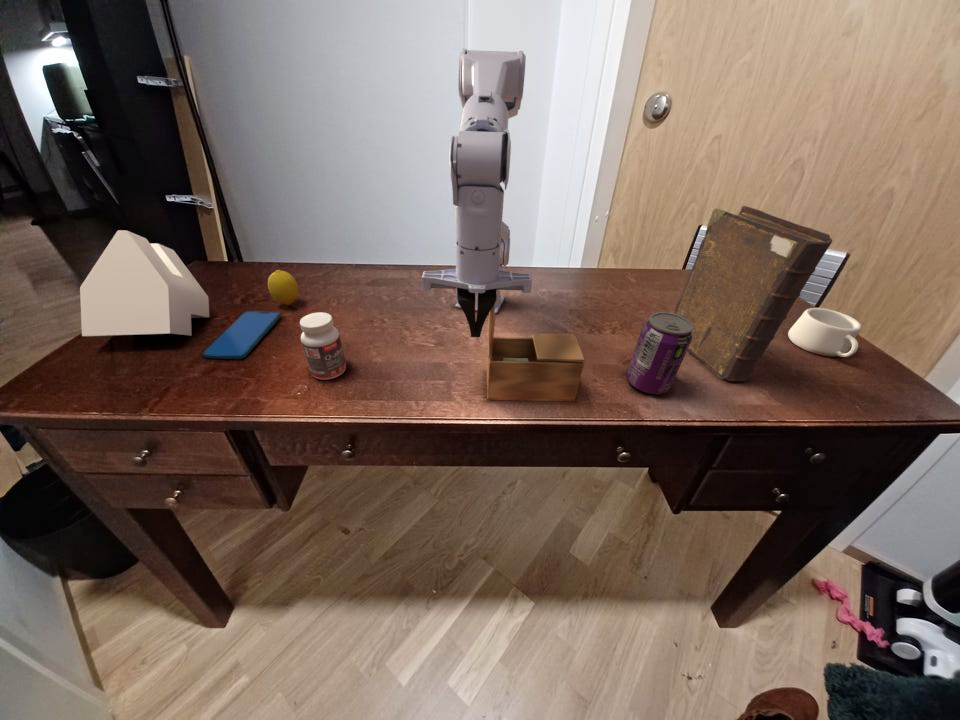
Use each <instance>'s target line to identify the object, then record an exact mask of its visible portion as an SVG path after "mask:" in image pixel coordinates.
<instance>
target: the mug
mask: <svg viewBox="0 0 960 720" xmlns="http://www.w3.org/2000/svg"><path fill="white" fill-rule="evenodd" d="M861 330H862V324H861V323H860V322H859V321H858V320H857V319H855V318H854V317H852V316H850V315H848V314H845V313H843V312H841V311H837V310H834V309H829V308H823V307H810V308H807V309H805V310H804V311H803V312H802V314H801V315H800V317H798V319H797V320H796V321H795V323H793V325H792V326H791V327H790V328H789V330H788V333H787V335H788V339H789V340H790V342H792V343H793V344H794V345H796V346H797V347H799V348H801V349H802V350H805V351H807V352H809V353H812V354H816V355H819V356H825V357H831V358H832V357H835V358H836V357H841V358H849V357H851V356H853V355H855V354H857V351H858V349H859V342H858V340H857V339H856V338H857V337H858V335H859V333H860V331H861Z"/></svg>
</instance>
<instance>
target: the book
mask: <svg viewBox="0 0 960 720" xmlns="http://www.w3.org/2000/svg"><path fill="white" fill-rule="evenodd" d="M832 243H833V239H832V238H831V236H830V234H829V233H825V232H823V231H819V230H816V229H814V228H811V227H808V226H804V225H801V224H797V223H794V222H792V221H789V220H786V219H783V218H780V217H778V216H774V215H772V214H769V213H767V212H764V211H763V210H760V209H758V208H755V207H752V206H747V205H742V206H741V209H740V210H739V212H738V214H735V213H732V212H729V211H727V210H725V209H722V208H720V207H715V208H713V210H712V211H711V214H710V218H709V220H708V223H707V226H706V229H705V235H704V237H703V239H702V240H701V243H700V245H699V248H698V251H697V255H696V257H695V259H694V262H693V265H692V267H691V269H690V273H689V274H688V278H687V280H686V282H685V285H684V288H683V290H682V292H681V296H680V298H679V299H678V301H677V303H676V306H675V309H674V313H673V314H677V315H679V316H682V317H684V318H686V319H687V320H689V321H690V322H691V323H692V324H693V330H692V332H691V333H692V341H691V343H690V345H689V347H688V350H687V352H689V354H691V355H693V356H694V357H695V358H696V359H698V360H699V361H700V362H701V363H703V365H705V366H706V367H707V368H708V370H710V372H712V373H713V374H714V375H715V376H716V377H718V378H719V379H721V380H726V381H729V382H745V381H749V380H750V378H751V377H752V375H753V373H754V371H755V370H756V368H757V366H758V364H759V362H760V361H761V360H762V358H764V354H765V352H766V350H767V349H768V347H769V345H770V343H771V342H772V341H774V339H775V336H776V334H777V332H778V330H779V329H780V327H781V325H782V323H783V322H784V321H785V320H786V319H787V318H788V317H787V316H788V314H789V312H790V311H791V309H792V307H793V305H794V304H795V302H796V300H797V299H798V298H799V297H800V296H801V292H802V290H803V289H804V287H806V284H807V283H808V281H809V280H810V279H811V276H812V274H814V273H815V272H816V268H817V266H818V265H819V263H821V260H822V259H823V257H824V256H825V254H826V253H827V250H828V249H829V248H830V247H831V245H832Z"/></svg>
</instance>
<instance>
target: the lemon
mask: <svg viewBox="0 0 960 720" xmlns="http://www.w3.org/2000/svg"><path fill="white" fill-rule="evenodd" d="M267 288H268V289H267V290H268V291H269V294H270V296H271V298H272V299H273V300H274V301H275V302H277V303H280V304H284V305H286V306H290V305H291V304H292V303H294V302H295V301H296V300H297V299H298V297H299V286H298V282H297V281H296V279H295V278H294V276H293V275H292V274H291V273H289V272H288V271H284V270H280V269H276V270H275V271H273V272H272V273H271V274H270V275H269V277H268V278H267Z"/></svg>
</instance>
